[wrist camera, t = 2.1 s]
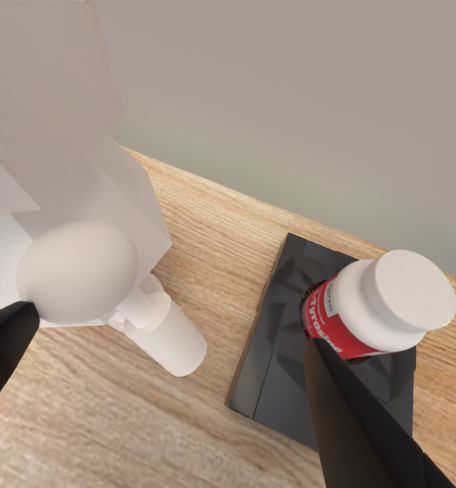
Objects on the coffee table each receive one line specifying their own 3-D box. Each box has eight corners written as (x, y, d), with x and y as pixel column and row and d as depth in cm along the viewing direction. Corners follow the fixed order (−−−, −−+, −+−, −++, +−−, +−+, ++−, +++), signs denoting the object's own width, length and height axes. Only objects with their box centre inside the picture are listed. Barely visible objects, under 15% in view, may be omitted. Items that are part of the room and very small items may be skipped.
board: (399, 291, 26) (417, 283, 24) (387, 484, 19) (413, 498, 16) (280, 242, 28) (287, 230, 25) (222, 403, 20) (225, 406, 18)
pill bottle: (286, 298, 24) (345, 244, 15) (341, 288, 26) (429, 231, 16) (308, 368, 22) (398, 357, 12) (369, 352, 23) (496, 331, 13)
